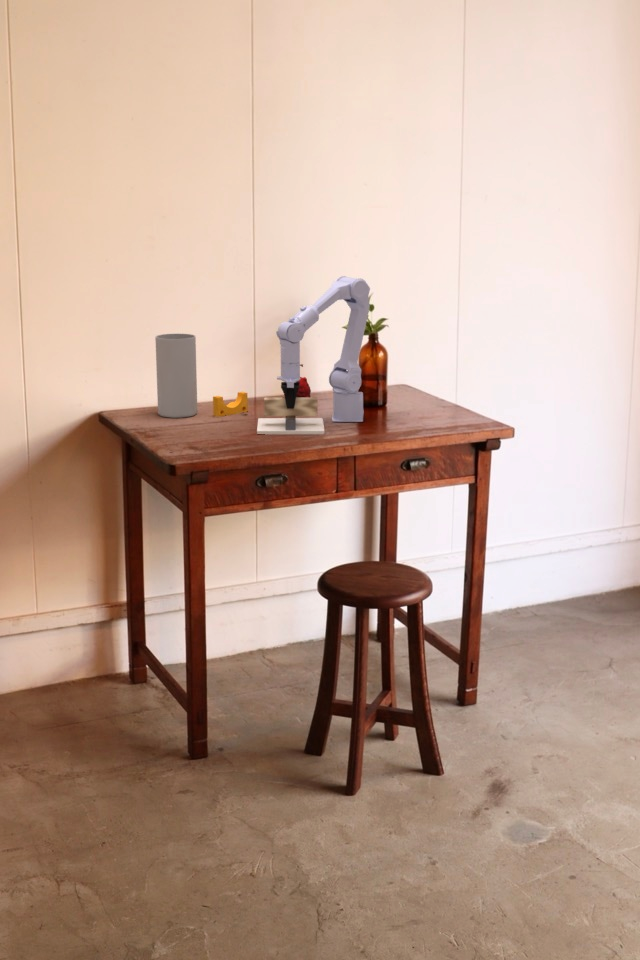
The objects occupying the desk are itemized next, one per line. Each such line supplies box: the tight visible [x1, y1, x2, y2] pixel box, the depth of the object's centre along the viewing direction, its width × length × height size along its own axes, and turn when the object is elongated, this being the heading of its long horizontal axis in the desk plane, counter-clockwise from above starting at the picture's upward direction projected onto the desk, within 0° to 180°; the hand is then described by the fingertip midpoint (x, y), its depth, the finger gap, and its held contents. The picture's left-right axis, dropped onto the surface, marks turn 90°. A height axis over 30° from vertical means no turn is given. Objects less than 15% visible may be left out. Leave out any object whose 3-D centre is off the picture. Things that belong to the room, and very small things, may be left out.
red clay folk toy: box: [296, 363, 312, 397], centre depth 386 cm, size 8×7×15 cm
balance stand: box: [256, 416, 325, 435], centre depth 351 cm, size 20×18×4 cm
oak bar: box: [263, 396, 319, 417], centre depth 350 cm, size 16×4×5 cm, turn 92°
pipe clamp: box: [212, 391, 249, 418], centre depth 370 cm, size 12×4×6 cm, turn 133°
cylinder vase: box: [155, 333, 198, 419], centre depth 366 cm, size 12×12×25 cm
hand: (290, 407), depth 350 cm, fingers closed on oak bar, 3 cm apart
